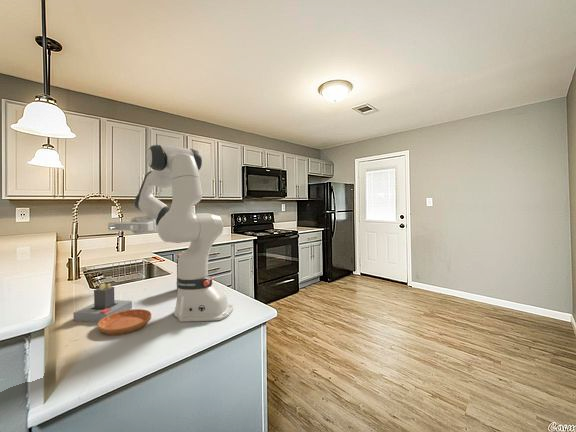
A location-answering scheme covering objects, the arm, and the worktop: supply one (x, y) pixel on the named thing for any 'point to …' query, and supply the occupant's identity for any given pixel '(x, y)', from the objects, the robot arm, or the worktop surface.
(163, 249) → the worktop surface
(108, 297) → the plug
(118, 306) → the socket
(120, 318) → the saucer
